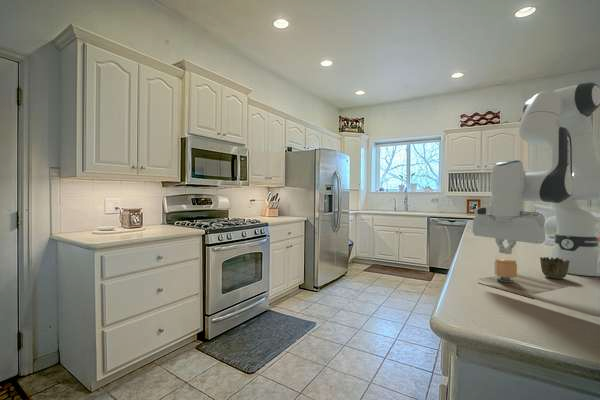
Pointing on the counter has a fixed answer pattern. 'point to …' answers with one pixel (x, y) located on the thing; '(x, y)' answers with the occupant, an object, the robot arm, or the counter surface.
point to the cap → (505, 267)
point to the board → (526, 284)
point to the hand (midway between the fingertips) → (505, 253)
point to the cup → (554, 267)
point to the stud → (505, 279)
